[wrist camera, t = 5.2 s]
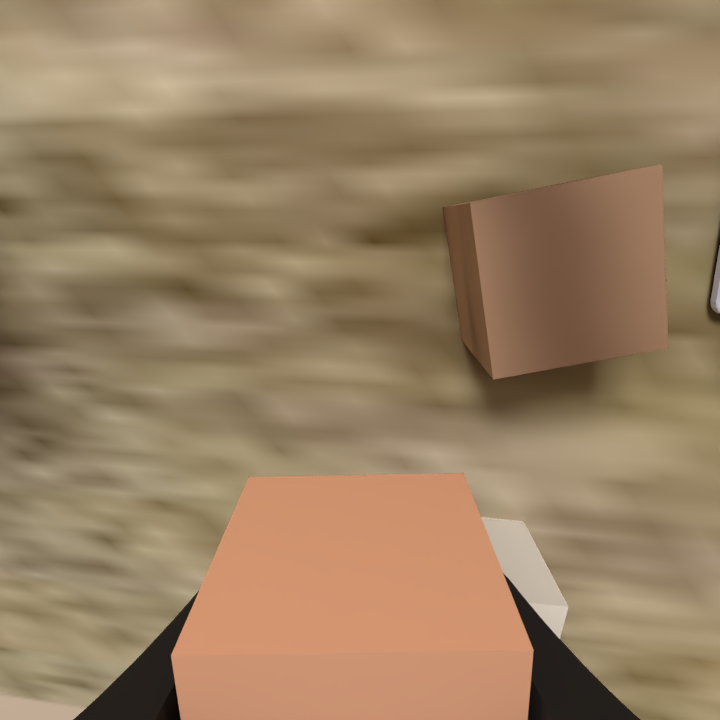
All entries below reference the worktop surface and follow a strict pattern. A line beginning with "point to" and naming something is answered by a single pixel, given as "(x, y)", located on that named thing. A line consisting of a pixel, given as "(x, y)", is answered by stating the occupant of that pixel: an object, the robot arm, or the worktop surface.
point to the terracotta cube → (354, 607)
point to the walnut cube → (561, 272)
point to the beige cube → (527, 570)
